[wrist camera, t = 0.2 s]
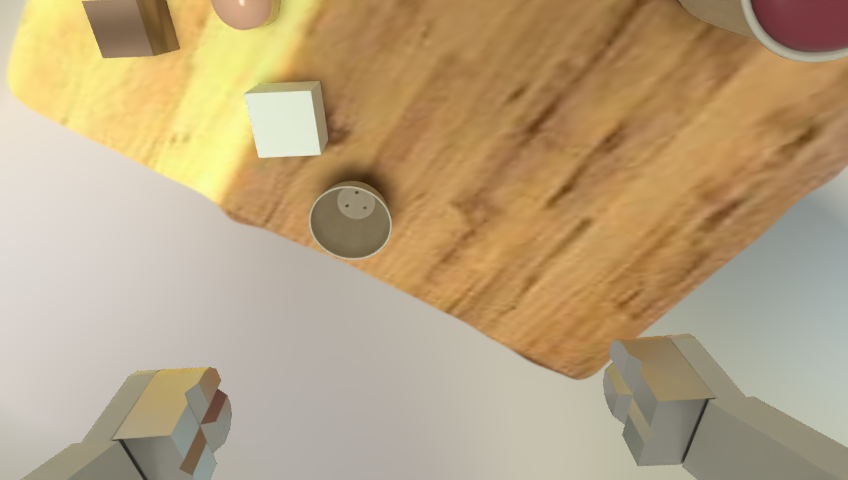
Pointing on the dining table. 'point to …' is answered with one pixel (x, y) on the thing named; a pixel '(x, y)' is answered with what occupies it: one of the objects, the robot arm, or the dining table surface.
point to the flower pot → (350, 221)
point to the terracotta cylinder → (246, 12)
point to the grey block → (287, 118)
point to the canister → (782, 25)
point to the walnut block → (131, 27)
